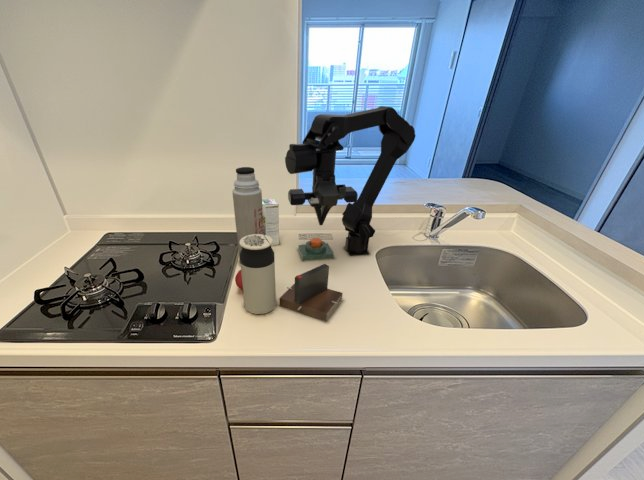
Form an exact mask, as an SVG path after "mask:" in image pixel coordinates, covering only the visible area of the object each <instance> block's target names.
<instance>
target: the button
mask: <svg viewBox="0 0 644 480" xmlns="http://www.w3.org/2000/svg"><path fill="white" fill-rule="evenodd" d="M309 241H310V246H312V247H320V246H321V245H322V241H323V240H322V238H319V237H313V238H310V240H309Z"/></svg>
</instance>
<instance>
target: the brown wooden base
mask: <svg viewBox="0 0 644 480" xmlns="http://www.w3.org/2000/svg"><path fill="white" fill-rule="evenodd" d="M286 289H287V290H286V291H285V292H284V293H283V294H282V295H281V296H280V297H279V298H278V299H279V302H278V303H279V307H281V308H284V309H287V310H290V311H293V312H296V313H299V314H302V315H305V316H308V317H311V318H314V319H317V320H320V321H322V322H327V321H328V320H329V319H330V317H331V316H332V315H333V313H334V312H335V310H336V309H337V308H338V307H339V305H340V304H341V303H342V301H343V292H341V291H337V290H334V289H331V288H327V290H325V291H323V292H321V293H319V294H318V295H316V296H314V297H312V298H310V299H308V300H306V301H304V302H302V303H300V304H298V303H296V302H295V283H293V284H292V285H291V286H290V287H289V286H288V287H286Z"/></svg>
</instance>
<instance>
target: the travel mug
mask: <svg viewBox="0 0 644 480" xmlns="http://www.w3.org/2000/svg"><path fill="white" fill-rule="evenodd" d="M239 243H240V245H241V247H242V250H241V252H240V261H239V265H240V264H241V265H240V270H241V274H242V284H243V290H242V292H243V293H242V294H243V304H244V308H245V310H246V311H247V312H249V313H251V314H255V315H264V314H268V313H270V312H272V311H273V310H274V309H275V308H276V306H277V296H276V294H277V293H276V292H277V291H276V263H275V251H274V250H273V248H272V246H273V245H272V243H273V240H272V238H271V237H269V236H267V235H262V234H253V235H248V236H245V237H243V238H242V239H241V240H240V242H239Z"/></svg>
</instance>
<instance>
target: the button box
mask: <svg viewBox="0 0 644 480" xmlns="http://www.w3.org/2000/svg"><path fill="white" fill-rule="evenodd" d="M297 247H298V249H297V250H298V252H299V255H300V258H301V260H302V261H315V260H330V259H334V256H335V255H334V252H333V250H332V248H331V247H330V244H329V243H328V242H325V241H323V240H322V245H321V246H320V247H312V246H310V240H308V241H306V242H305V244H298V246H297Z"/></svg>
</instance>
